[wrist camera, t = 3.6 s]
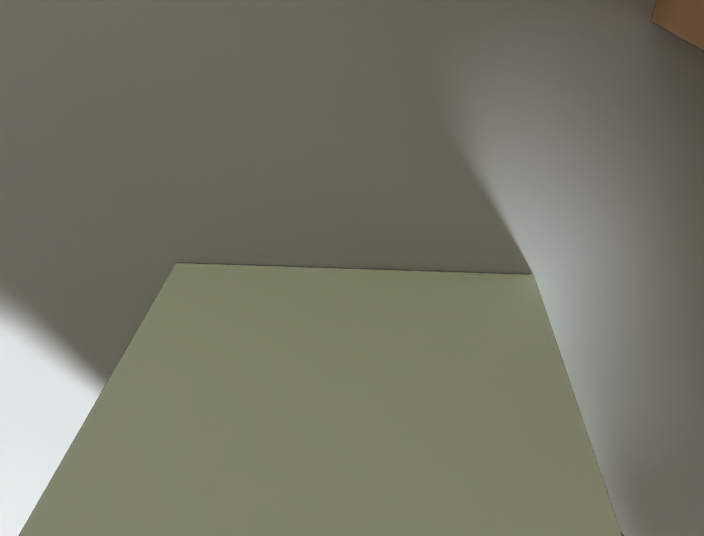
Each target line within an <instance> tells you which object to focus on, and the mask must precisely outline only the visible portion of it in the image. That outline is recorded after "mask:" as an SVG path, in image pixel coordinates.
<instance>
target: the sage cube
mask: <svg viewBox="0 0 704 536" xmlns="http://www.w3.org/2000/svg"><path fill="white" fill-rule="evenodd" d="M19 536H622V535H621V532H620V529H619V526H618V523H617V520H616V517H615V514H614V511H613V508H612V505H611V502H610V499H609V496H608V493H607V490H606V487H605V484H604V481H603V478H602V475H601V472H600V469H599V467H598V464H597V461H596V458H595V455H594V452H593V449H592V446H591V443H590V440H589V437H588V434H587V431H586V428H585V425H584V422H583V419H582V416H581V413H580V410H579V407H578V404H577V401H576V398H575V395H574V392H573V390H572V387H571V384H570V381H569V378H568V375H567V372H566V369H565V366H564V363H563V360H562V357H561V354H560V351H559V348H558V345H557V342H556V339H555V336H554V333H553V330H552V327H551V324H550V321H549V318H548V316H547V313H546V310H545V307H544V304H543V301H542V298H541V295H540V292H539V289H538V286H537V283H536V280H535V277H534V275H522V274H492V273H462V272H432V271H402V270H371V269H341V268H311V267H281V266H251V265H220V264H190V263H176V264H175V266H174V267H173V269H172V271H171V273H170V274H169V276H168V278H167V279H166V281H165V283H164V285H163V286H162V288H161V290H160V292H159V293H158V295H157V297H156V298H155V300H154V302H153V304H152V305H151V307H150V309H149V311H148V312H147V314H146V316H145V318H144V319H143V321H142V323H141V324H140V326H139V328H138V330H137V331H136V333H135V335H134V337H133V338H132V340H131V342H130V344H129V345H128V347H127V349H126V350H125V352H124V354H123V356H122V357H121V359H120V361H119V363H118V364H117V366H116V368H115V369H114V371H113V373H112V375H111V376H110V378H109V380H108V382H107V383H106V385H105V387H104V389H103V390H102V392H101V394H100V395H99V397H98V399H97V401H96V402H95V404H94V406H93V408H92V409H91V411H90V413H89V415H88V416H87V418H86V420H85V421H84V423H83V425H82V427H81V428H80V430H79V432H78V434H77V435H76V437H75V439H74V440H73V442H72V444H71V446H70V447H69V449H68V451H67V453H66V454H65V456H64V458H63V460H62V461H61V463H60V465H59V466H58V468H57V470H56V472H55V473H54V475H53V477H52V479H51V480H50V482H49V484H48V486H47V487H46V489H45V491H44V492H43V494H42V496H41V498H40V499H39V501H38V503H37V505H36V506H35V508H34V510H33V511H32V513H31V515H30V517H29V518H28V520H27V522H26V524H25V525H24V527H23V529H22V531H21V532H20V534H19Z"/></svg>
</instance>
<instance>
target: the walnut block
mask: <svg viewBox="0 0 704 536" xmlns="http://www.w3.org/2000/svg"><path fill="white" fill-rule="evenodd" d="M650 21H652V22H653V23H655V24H657V25H659V26H660V27H662V28H664V29H666V30H668V31H669V32H671V33H673V34H675V35H676V36H678V37H680V38H682V39H683V40H685V41H687V42H689V43H691V44H692V45H694V46H696V47H698V48H699V49H701V50H703V51H704V0H657V1H656V4H655V7H654V11H653V14H652V17H651V20H650Z"/></svg>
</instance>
